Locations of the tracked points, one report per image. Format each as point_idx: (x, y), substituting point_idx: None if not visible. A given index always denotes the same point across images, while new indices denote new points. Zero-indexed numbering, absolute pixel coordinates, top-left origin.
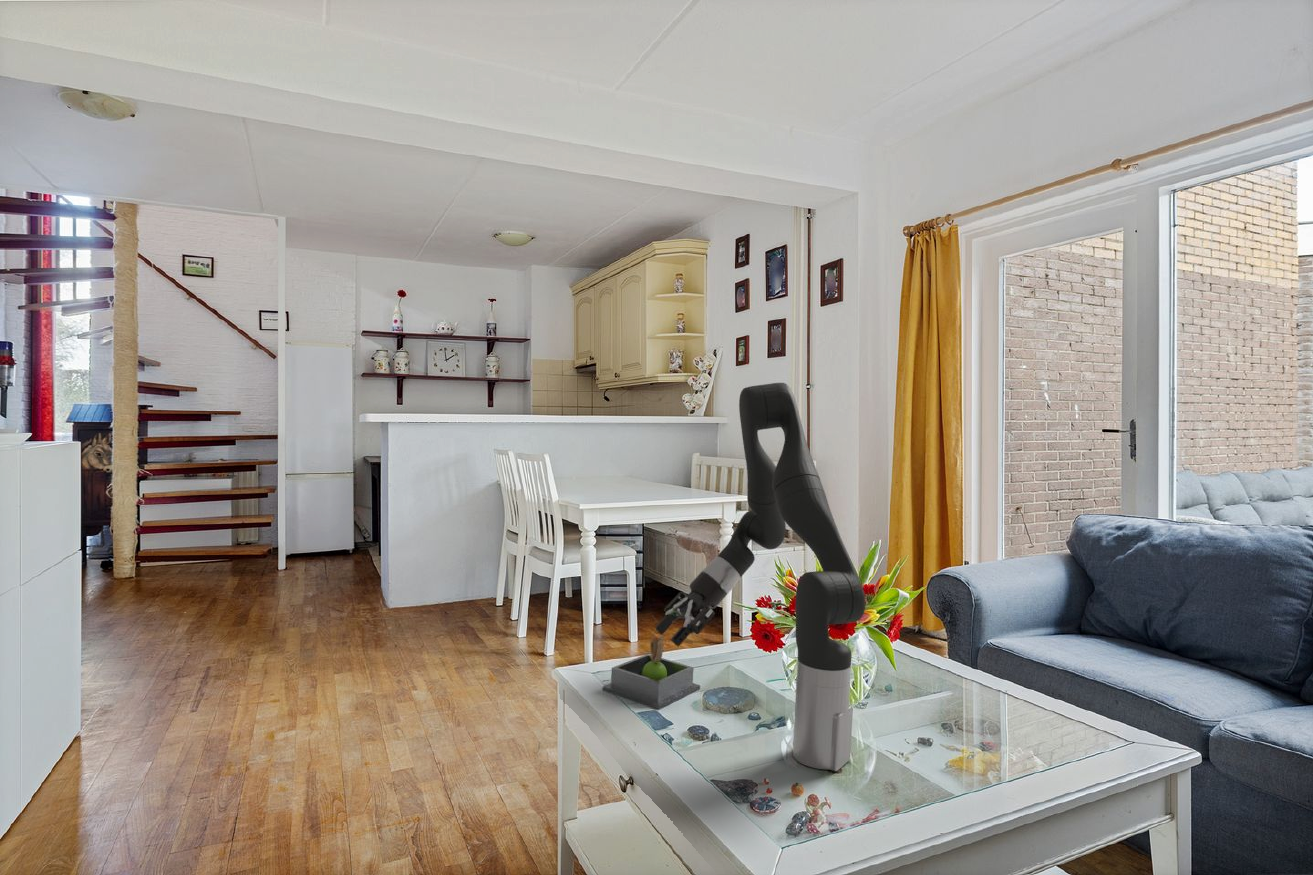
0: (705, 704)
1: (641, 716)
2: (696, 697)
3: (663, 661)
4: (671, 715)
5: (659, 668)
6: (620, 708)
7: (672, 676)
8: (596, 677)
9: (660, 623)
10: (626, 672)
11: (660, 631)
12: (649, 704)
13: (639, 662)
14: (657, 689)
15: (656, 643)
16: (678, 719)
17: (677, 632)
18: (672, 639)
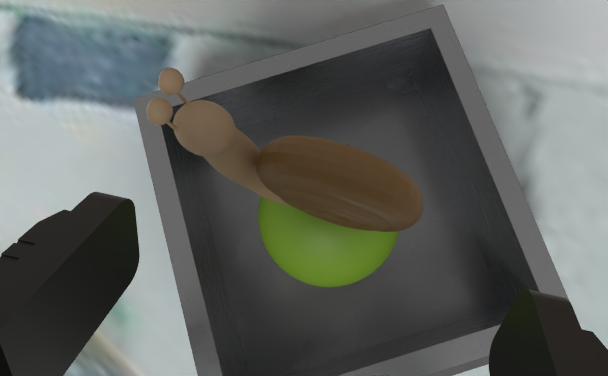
0: None
1: (135, 33)
2: (152, 350)
3: (420, 346)
4: (75, 133)
5: (271, 201)
6: (237, 6)
7: (164, 217)
8: (584, 83)
9: (545, 343)
10: (345, 36)
11: (502, 336)
12: None
13: (500, 223)
14: None
15: (283, 143)
16: (32, 135)
17: (54, 251)
18: (100, 193)
